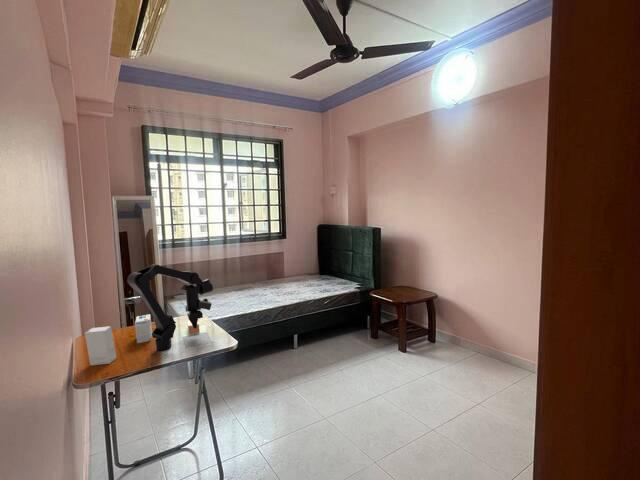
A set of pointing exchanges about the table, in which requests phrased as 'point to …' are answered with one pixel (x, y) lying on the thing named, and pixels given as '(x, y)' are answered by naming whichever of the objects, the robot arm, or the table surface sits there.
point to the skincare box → (100, 345)
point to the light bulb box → (143, 328)
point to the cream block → (192, 328)
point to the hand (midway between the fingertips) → (195, 328)
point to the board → (195, 337)
